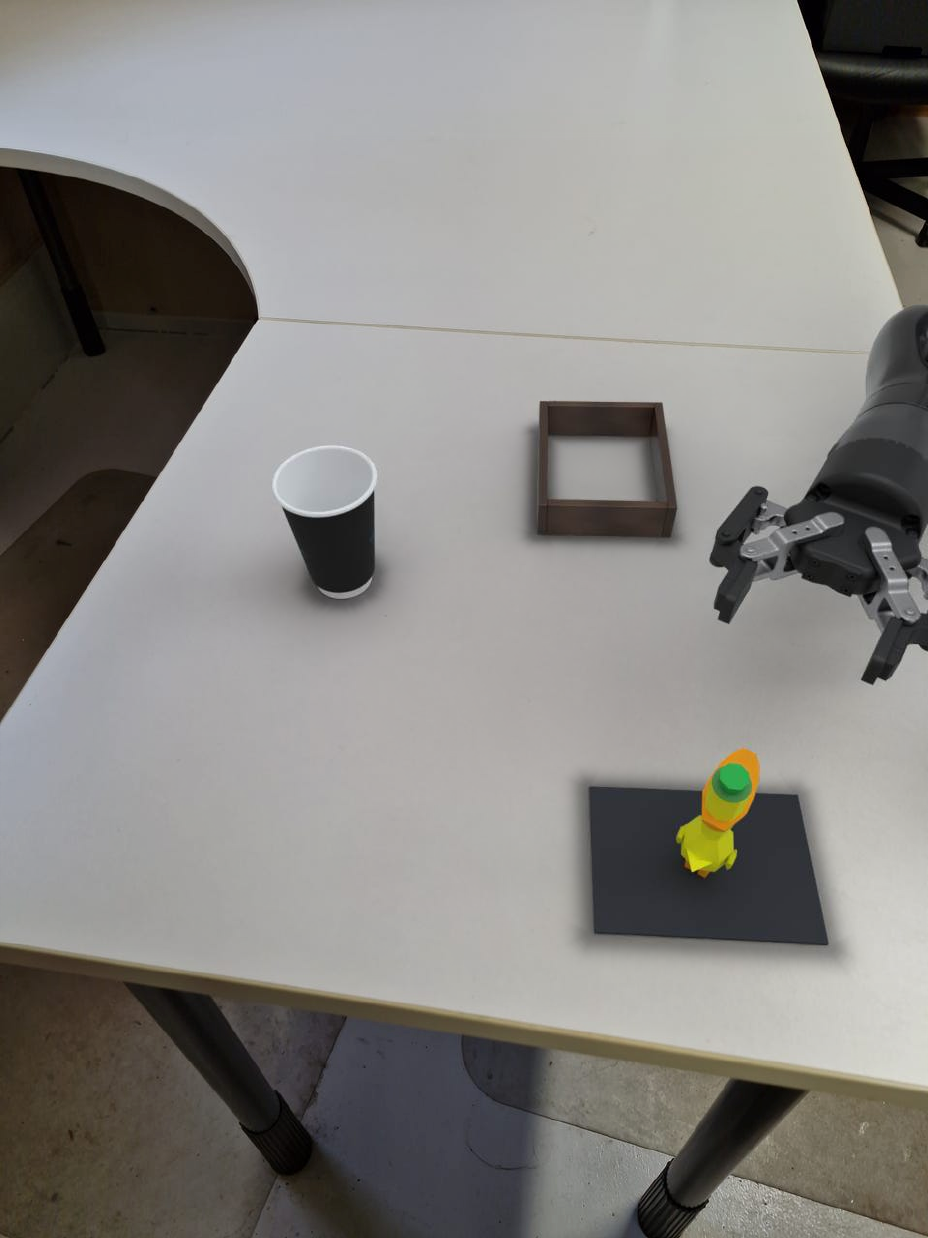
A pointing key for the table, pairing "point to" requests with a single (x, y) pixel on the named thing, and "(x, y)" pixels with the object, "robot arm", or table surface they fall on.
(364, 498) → the dixie cup
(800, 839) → the rubber pad
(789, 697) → the table surface
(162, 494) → the table surface
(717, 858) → the toy figure
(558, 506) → the tray box
